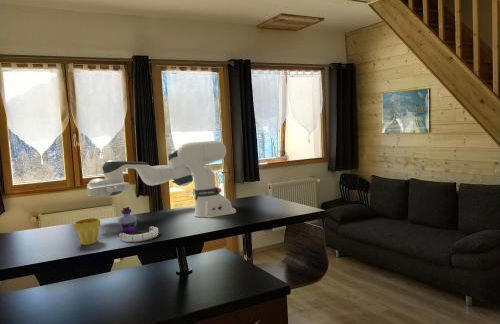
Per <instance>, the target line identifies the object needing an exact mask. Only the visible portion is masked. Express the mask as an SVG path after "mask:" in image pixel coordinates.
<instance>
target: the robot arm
mask: <svg viewBox="0 0 500 324" xmlns="http://www.w3.org/2000/svg"><path fill="white" fill-rule="evenodd" d="M226 154H227V148H226V145H225V144H224V143H223V142H222V141H217V140H208V141H196V142H187V143H184V144H183V143H182V144H181V145H180V146H179V147H178V149H174V150H172V151H171V152H169V154H168V157H167V159H168V161H169V165H168V164H167V165H166V164H165V165H162V164H161V165H153V166H151V165H149V163H148V162H145V161H131V160H130V161H129V160H128V161H127V160H125V161H124V160H123V161H122V160H116V159H110V160H107V161H105V162H104V164H103V165H102V167H101V168H102V173H103V176H104V178H99V177H98V178H93V179H91V180H89V182H88V183H87V184H86V192H87V193H86V194H87V196H88V197H92V198H93V197H110V196H117V195H120V194H122V192H123V191H129V190H130V189H131V186H130V182H125V178H124V173H123V169H134V171H136V172H137V174H138V176H139V177H140V179H141V181H142V182H143V184H145V185H147V186H158V185H161V184H165V183H167V182H169V181H172V184H175V185H177V186H180V187H185V186H188V185H190V184H191V183H192V182H193V183H194V189H193V190H194V191H193V195H194V199H195V205H194V214H193V216H194V217H198V218H209V219H210V218H215V217H222V216H227V215H232V214H236V213H237V210H236V208H234V207H232V203H231V201H230V200H229V199H228V198H227V197H225V196H224V195H222V194H221V192H222V189H221V188H219V187H217V186H216V177H215V176H216V175H215V173H214V172H213V170H211V169H209V168H207V167H205V166H206V165H209V164H211V163H214V162H217V161H221V160H224V159H225V157H226Z"/></svg>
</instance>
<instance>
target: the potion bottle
mask: <svg viewBox="0 0 500 324" xmlns="http://www.w3.org/2000/svg"><path fill="white" fill-rule="evenodd" d="M131 213H132V209H131V208H130V206H125V207H122V210H121V214H123V216H121V217H119V218H117V222H118V225H119V226H120V228H121V233H126V234H127V235H131V234H134V233H135V229H136V226H137V216H136V215H131Z"/></svg>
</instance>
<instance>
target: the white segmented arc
mask: <svg viewBox="0 0 500 324" xmlns="http://www.w3.org/2000/svg"><path fill="white" fill-rule="evenodd" d="M158 233H159V227H156V226H149V227H148V232H144V233H139V234H125V233H123V232H121V233H119V235H118V236H119V240H120V241H121V242H124V243H125V242H127V243H129V242H130V243H135V242H143V241H147V240H152V239H154V238H156V237H158V236H159V234H158ZM157 235H158V236H157Z"/></svg>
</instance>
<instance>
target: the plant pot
mask: <svg viewBox="0 0 500 324" xmlns="http://www.w3.org/2000/svg"><path fill="white" fill-rule="evenodd" d="M73 226H74V231H76V233H77V236H78V238H79V240H80V244H81V245H83V246H86V245H87V246H88V245H92V244H95V243H97V242H98V239H99V233H100V232H99V231H100V229H99V228H100V227H101V219H100V218H98V217H90V218H83V219H79V220H75V221H74V222H73Z"/></svg>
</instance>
